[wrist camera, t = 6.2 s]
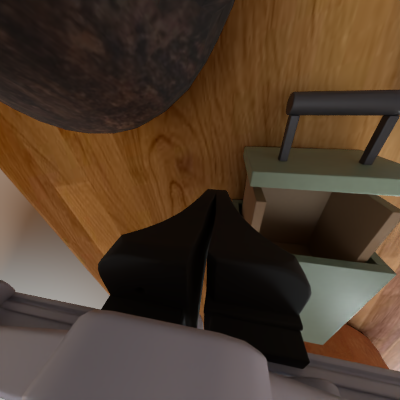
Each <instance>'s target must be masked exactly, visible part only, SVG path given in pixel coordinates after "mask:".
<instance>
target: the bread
mask: <svg viewBox="0 0 400 400" xmlns="http://www.w3.org/2000/svg"><path fill="white" fill-rule="evenodd" d="M304 344H305V348H306V351H307V353H312V354H317V355H322V356H327V357H332V358H336V359H341V360H346V361H351V362H356V363H361V364H365V365H370V366H375V367H380V368H385V369H389V368H388V367H387V365H386V364H385V362H384V360H383V359H382V357H381V355H380V353H379V351H378V350H377V349H376V348H375V346H374V345H373V344H372V342H371V341H370V340H369V339H368V338H367V337H366V336H364V335H363V334H362V333H360V332H359V331H357V330H355V329H354V328H352V327H350V326H349V325H347V324H344V325H343V326H342V327H341V328H340V329H339V330H338V331H337V332H336V333H335V334H334V335H333V336H332V337H331V338H330V339H329V340H328V341H326V342H325V343H324V344H323V345H320V344H315V343H310V342H305V341H304Z"/></svg>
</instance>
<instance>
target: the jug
mask: <svg viewBox="0 0 400 400" xmlns="http://www.w3.org/2000/svg"><path fill="white" fill-rule="evenodd" d="M234 1H235V0H0V101H1V102H2V103H4V104H6V105H8V106H10V107H11V108H13V109H15V110H17V111H19V112H22V113H24V114H26V115H28V116H30V117H32V118H34V119H36V120H38V121H41V122H44V123H47V124H50V125H53V126H56V127H59V128H63V129H66V130H71V131H77V132H83V133H117V132H122V131H126V130H131V129H135V128H137V127H139V126H141V125H143V124H145V123H147V122H149V121H150V120H152V119H153V118H155V117H157V116H158V115H160V114H162V113H163V112H165V111H166V110H167V109H168V108H169V107H170V106H171V105H172V104H173V103H175V102H176V101H177V100H178V99H179V98H180V97H181V96H182V95H183V94H184V93H185V92H186V91H187V90H188V89H189V88H190V86H191V84H192V83H193V81H194V80H195V78H196V77H197V75H198V74H199V72H200V71H201V69H202V68H203V66H204V65H205V63H206V61H207V59H208V57H209V56H210V54H211V52H212V50H213V48H214V46H215V44H216V42H217V40H218V38H219V36H220V34H221V32H222V29H223V27H224V25H225V23H226V20H227V18H228V16H229V14H230V11H231V9H232V7H233V4H234Z"/></svg>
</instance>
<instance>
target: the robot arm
mask: <svg viewBox="0 0 400 400" xmlns="http://www.w3.org/2000/svg"><path fill="white" fill-rule="evenodd" d="M206 259H207V288H206V298H205V305H204V330H203V321H202V319H201V316H200V314H199V310H200V302H201V294H202V287H203V280H204V272H205V265H206ZM98 271H99V274H100V277H101V279H102V280H103V282H104V284H105V286H106V288H107V289H108V291H109V293H110V296H109V298H108V299H107V301H106V303H105V304H104V306H103V307H102V309H101V310H100V309H95V308H90V307H85V306H80V305H76V304H71V303H66V302H61V301H56V300H51V299H46V298H42V297H37V296H32V295H27V294H22V293H17V292H15V290H14V289H13V288H12V287H11V286H10V285H9V284H8V283H6V282H4V281H2V280H0V398H2V399H5V400H400V372H399V371H394V370H390V369H385V368H380V367H375V366H370V365H365V364H361V363H356V362H351V361H346V360H341V359H336V358H332V357H327V356H322V355H317V354H312V353H307V351H306V348H305V344H304V341H303V338H302V334H301V331H302V330H303V325H302V322H301V318H300V315H299V314H300V313H301V311H302V310H303V308H304V307H305V305H306V304H307V302H308V301H309V299H310V296H311V294H312V292H311V286H310V284H309V282H308V279H307V277H306V275H305V273H304V271H303V269H302V267H301V265H300V264H299V262H298V260H297V258H296V257H295V256H294V255H292V254H291V253H289V252H287V251H286V250H284V249H282V248H281V247H279V246H277V245H276V244H274V243H273V242H271V241H270V240H268V239H267V238H265V237H264V236H263V235H261V234H260V233H259V232H258V231H256V230H255V229H254V228H253V227H252V226H251V225H250V224H249V223H248V222H247V221H246V220H245V219H244V218H243V217H242V216H241V214H240V213H239V212H238V210H237V209H236V207H235V206H234V204H233V203H232V201H231V199H230V197H229V195H228V192H227V191H226V190H214V189H207V190H206V191H205V192H204V193H203V194H202V195H201V196H200V197H199V198H198V199H197V200H196V201H195V202H194V203H192V204H191V205H190V206H189V207H187V208H186V209H185V210H183V211H182V212H180V213H178V214H177V215H175V216H173V217H171V218H169V219H167V220H165V221H163V222H160V223H158V224H155V225H153V226H150V227H147V228H144V229H141V230H138V231H134V232H131V233H127V234H123V235H122V236H121V237H120V238H119V239H118V240H117V241H116V242H115V244H114V245H113V246H112V247H111V248H110V249H109V251H108V252H107V253H106V254H105V255H104V257H103V258H102V259H101V261H100V262H99V264H98Z"/></svg>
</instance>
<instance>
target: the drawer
mask: <svg viewBox="0 0 400 400" xmlns="http://www.w3.org/2000/svg"><path fill="white" fill-rule="evenodd" d="M286 114H287V115H289V117H288V121H287V125H286V129H285V133H284V137H283V141H282V145H281V148H278V147H245V148H244V155H243V157H244V162H245V166H246V170H247V179H246V185H245V192H244V198H243V204H242V211H241V216H242V217H243V218H244V219H245V220H246V221H247V222H248V223H249V224H250V225H251V226H252V227H253V228H254V229H255V230H256V231H258V232H259V233H260V234H261V235H263V236H264V237H265V238H267V239H268V240H270V241H271V242H273V243H274V244H276V245H277V246H279V247H281V248H282V249H284V250H286V251H287V252H289V253H291V254H295V255H303V256H311V257H319V258H328V259H336V260H344V261H352V262H360V263H366V262H367V260H368V259H369V258H370V257H371V256H372V254H373V253H374V252H375V251H376V250H377V248H378V247H379V246H380V245H381V243H382V242H383V241H384V240H385V239H386V237H387V236H388V235H389V234H390V233H391V231H392V230H393V229H394V228H395V227H396V225H397V224H398V223H399V222H400V209H399V208H397V207H395V206H394V205H392V204H391V203H389V202H387V201H386V200H384V199H383V198H381V197H379V196H378V195H387V196H400V164H399V163H396V162H393V161H390V160H388V159H385V158H382V157H379V156H377V155H378V154H379V152H380V150H381V148H382V147H383V145H384V143H385V141H386V140H387V138H388V136H389V134H390V133H391V131H392V129H393V127H394V126H395V124H396V122H397V120H398V119H399V117H400V116H397V115H400V90H362V91H309V92H292V93H291V95H290V97H289V99H288V102H287V106H286ZM299 115H384V116H383V117H382V119H381V120H380V122H379V124H378V126H377V128H376V130H375V132H374V134H373V136H372V138H371V140H370V141H369V143H368V145H367V147H366V149H365V151H362V150H344V149H311V148H291V145H292V142H293V138H294V135H295V131H296V128H297V124H298V121H299V117H300V116H299Z"/></svg>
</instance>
